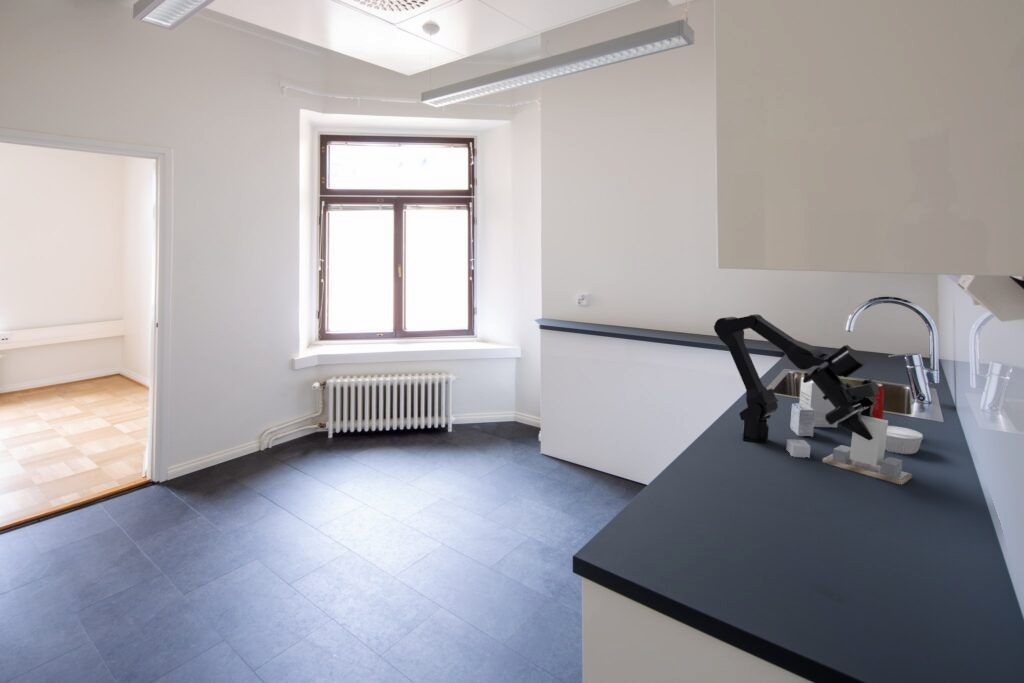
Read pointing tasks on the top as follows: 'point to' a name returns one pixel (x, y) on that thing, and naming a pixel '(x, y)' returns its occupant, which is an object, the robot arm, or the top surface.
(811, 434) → the medicine box
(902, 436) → the ramekin
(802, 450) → the block
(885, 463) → the block
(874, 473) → the board
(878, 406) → the beverage can
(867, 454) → the block
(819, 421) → the supplement box
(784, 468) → the top surface
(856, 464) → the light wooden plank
